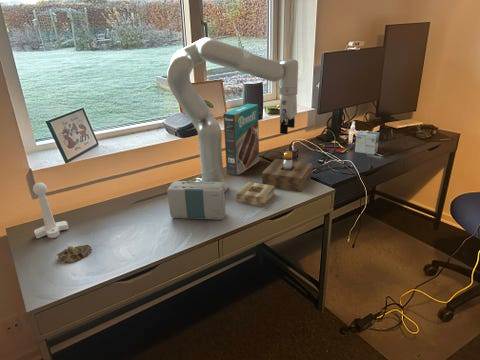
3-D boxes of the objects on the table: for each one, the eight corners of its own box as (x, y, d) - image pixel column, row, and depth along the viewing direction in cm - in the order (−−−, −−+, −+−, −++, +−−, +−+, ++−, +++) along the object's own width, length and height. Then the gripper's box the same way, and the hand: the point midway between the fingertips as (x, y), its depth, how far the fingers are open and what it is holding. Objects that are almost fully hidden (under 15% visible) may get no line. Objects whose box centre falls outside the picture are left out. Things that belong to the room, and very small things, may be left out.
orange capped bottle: (282, 176, 170) (282, 153, 166) (284, 172, 174) (284, 150, 169) (290, 177, 169) (290, 154, 164) (293, 174, 172) (293, 151, 167)
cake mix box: (237, 175, 180) (234, 114, 168) (226, 173, 183) (223, 113, 171) (259, 161, 197) (258, 104, 185) (249, 159, 200) (247, 103, 188)
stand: (237, 201, 155) (236, 193, 154) (248, 190, 165) (248, 181, 164) (264, 206, 151) (264, 197, 149) (274, 194, 160) (274, 185, 159)
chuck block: (262, 185, 169) (261, 172, 166) (275, 171, 183) (275, 159, 181) (300, 192, 161) (301, 178, 159) (311, 176, 176) (312, 163, 174)
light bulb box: (377, 151, 204) (379, 132, 200) (374, 155, 199) (376, 135, 195) (357, 148, 209) (359, 129, 205) (354, 152, 204) (356, 133, 200)
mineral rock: (58, 262, 117) (54, 245, 123) (60, 271, 120) (56, 254, 125) (94, 252, 122) (88, 236, 128) (95, 261, 125) (90, 245, 130)
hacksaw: (314, 174, 179) (314, 172, 178) (300, 168, 187) (300, 165, 186) (349, 163, 190) (350, 161, 189) (335, 158, 198) (335, 155, 197)
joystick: (66, 224, 143) (54, 176, 135) (71, 232, 137) (58, 183, 129) (34, 234, 137) (19, 185, 129) (38, 243, 132) (22, 192, 124)
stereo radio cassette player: (170, 220, 143) (163, 172, 135) (176, 209, 151) (170, 164, 143) (223, 222, 141) (220, 173, 132) (227, 211, 148) (224, 165, 140)
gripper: (290, 95, 147) (289, 137, 154) (302, 87, 161) (301, 126, 168) (272, 94, 150) (272, 135, 157) (286, 86, 164) (285, 124, 171)
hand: (287, 130), depth 162 cm, fingers open, 9 cm apart
